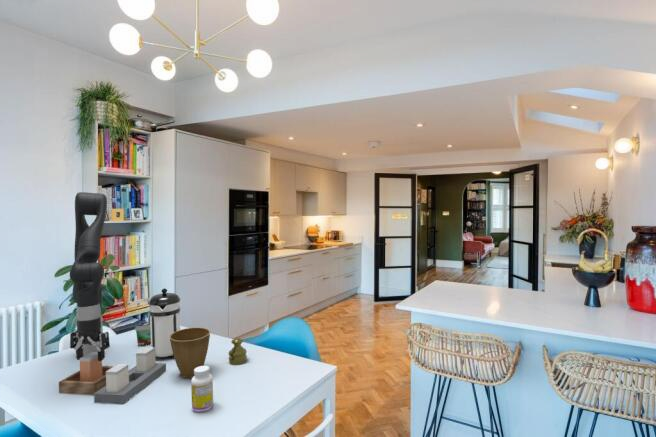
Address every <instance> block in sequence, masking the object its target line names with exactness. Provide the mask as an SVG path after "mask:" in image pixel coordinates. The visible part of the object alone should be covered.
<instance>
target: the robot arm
mask: <svg viewBox="0 0 656 437" xmlns="http://www.w3.org/2000/svg"><path fill="white" fill-rule="evenodd" d="M107 208H108V199H107V196H106V194H104V193H99V192H84V191H83V192H77V193H76V195H75V197H74V216H75V217H74V220H75V237H74V262H73V264H72V266H71V267H70V271H69V278H70V280H71V282H72V300H73V302H74V303H75V304H76V330H74V331H72V332H70V334H69V335H70V336H69V337H70V340H69V348H70V349H74V351H75V358H76V360H77V361H80V359H79V358H81V357H83V356H85V355H87V354H89V353H91V352H98V361H102V362H103V361H104V359H105V357H106V355H105V350H106V349H109V348H110V346H111V345H110V343H111V342H110V335H109V331H105V332H104V328H103V305H102V304H103V284H102V281H103V277H104V275H105V274H104V273H105V267H104V265H103V264H102V263H101V262H98V261H99V258H100V256H101V239H102V233H103V230H104V225H105V221H106V215H107V210H108V209H107ZM86 216H96V217H95V219H94V220H93V221H92V223H91V224H90V225H89V223H88V222H87V220H86Z"/></svg>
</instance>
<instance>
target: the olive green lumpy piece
mask: <svg viewBox="0 0 656 437" xmlns="http://www.w3.org/2000/svg"><path fill="white" fill-rule="evenodd" d="M230 342H231V344H233V347H232V348H231V349H230V350H229V351H228V363H229V364H230V365H235V366H236V365H242V364H245V363H246V362H247V359H248V358H247V356H248V355H247V349H246V348H244V346H243V345H242V343H243V342H244V339H243V338H241V337H239V336H238V337H235V338H233V339H232V340H231V341H230Z"/></svg>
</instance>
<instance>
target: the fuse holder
mask: <svg viewBox="0 0 656 437" xmlns="http://www.w3.org/2000/svg"><path fill="white" fill-rule="evenodd" d="M165 372H167V363H164V362H156V366H154V367H153V368H151V369H150V370H149V371H147V372H137V365H135V366H133V367H132V368H129V385H128V386H126V387H125V388H124V389H122V390H121V391H120V392H118V393H110V392H107V390H106V386H105V387H103V388H102V389H100V390H99V391H97V392H96V393H94V395H93V401H94V403H96V404H97V403H99V404H119V405H125V403H127V402H128V401H129V400H130V398H131V399H132V398H133V397H135V396H136V395H137V394H138V393H139V391H140V390H141V391H142V390H143V389H144V387H145V388H146V387H147V386H149V385H150V384H151V383H153V382H154V381H155V380H156V379H157V378H159V377H160V376H161V375H162V374H164V373H165ZM148 384H149V385H148ZM141 391H140V392H141ZM135 394H136V395H135ZM134 395H135V396H134Z"/></svg>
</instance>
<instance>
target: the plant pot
mask: <svg viewBox="0 0 656 437" xmlns="http://www.w3.org/2000/svg"><path fill="white" fill-rule="evenodd" d="M210 338H211V331H210V330H209V329H208V328H205V327H196V326H195V327H188V328H182V329H180V330H179V331H176V332H174V333H172V334H171V335H170V342H171V347H172V351H173V355H174V357H173V358H174V361H175V364H176V367H177V369H178V372H179V373H180V376H181V377H183V378H187V379H188V378H193V377H194V376H195V375H194V369H195V368H197V367H199V366H205V362H206V359H207V353H208V351H209V349H208V348H209V343H210Z"/></svg>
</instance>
